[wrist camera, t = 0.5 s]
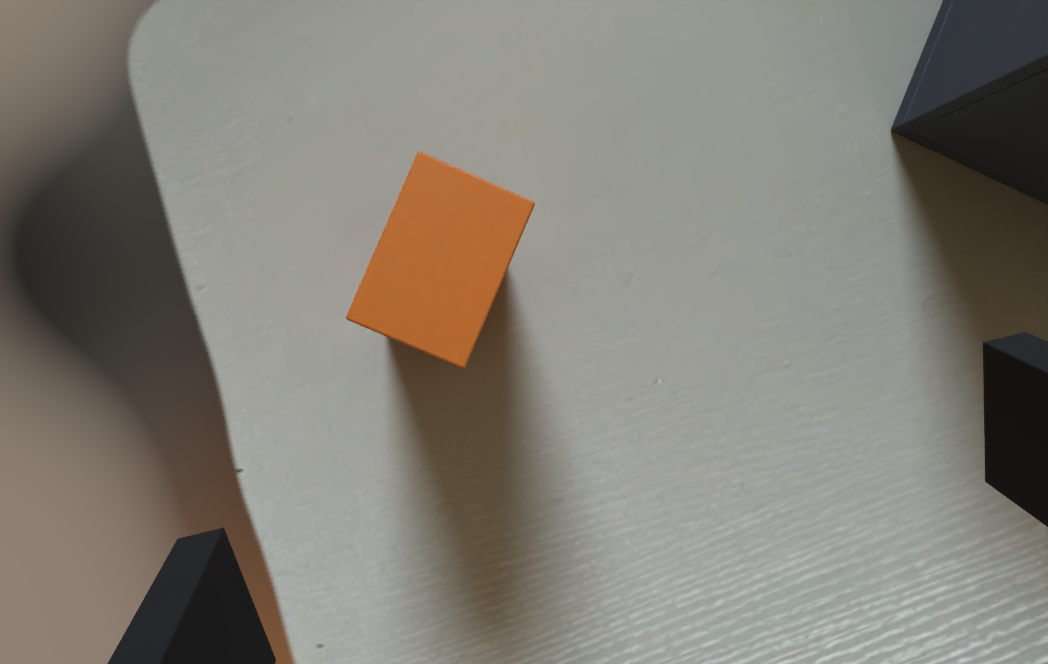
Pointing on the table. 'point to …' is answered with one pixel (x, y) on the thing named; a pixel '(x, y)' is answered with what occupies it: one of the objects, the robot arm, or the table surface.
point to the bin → (985, 91)
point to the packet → (440, 260)
